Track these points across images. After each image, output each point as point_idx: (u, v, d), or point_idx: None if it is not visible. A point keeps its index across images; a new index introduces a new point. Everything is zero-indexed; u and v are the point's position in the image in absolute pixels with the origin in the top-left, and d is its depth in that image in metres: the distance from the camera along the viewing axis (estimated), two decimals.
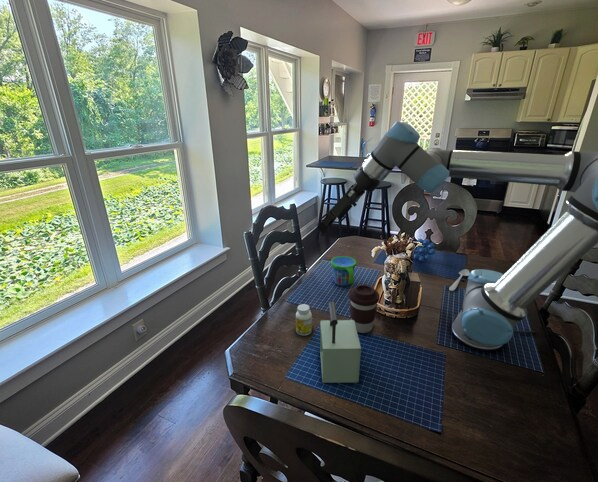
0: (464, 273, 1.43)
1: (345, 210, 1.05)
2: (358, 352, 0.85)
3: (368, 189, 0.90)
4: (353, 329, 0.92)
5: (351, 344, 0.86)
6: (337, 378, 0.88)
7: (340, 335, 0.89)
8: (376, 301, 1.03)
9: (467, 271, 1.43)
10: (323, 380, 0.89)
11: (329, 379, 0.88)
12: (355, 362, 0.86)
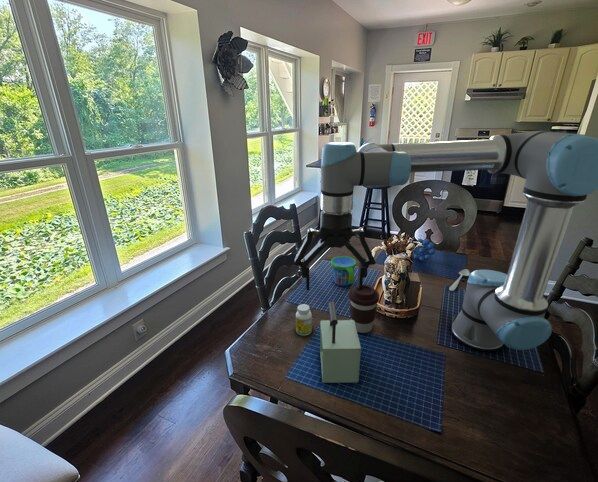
0: (464, 273, 1.43)
1: (359, 275, 0.82)
2: (358, 352, 0.85)
3: (325, 226, 0.75)
4: (353, 329, 0.92)
5: (351, 344, 0.86)
6: (337, 378, 0.88)
7: (340, 335, 0.89)
8: (376, 301, 1.03)
9: (467, 271, 1.43)
10: (323, 380, 0.89)
11: (329, 379, 0.88)
12: (355, 362, 0.86)
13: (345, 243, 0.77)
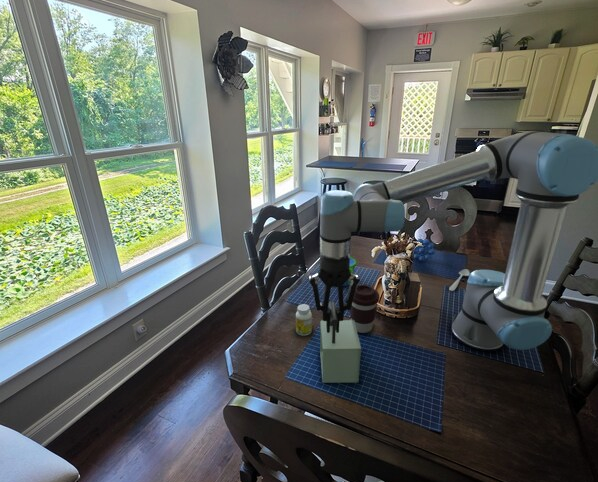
0: (464, 273, 1.43)
1: None
2: (358, 352, 0.85)
3: (324, 269, 0.79)
4: (353, 329, 0.92)
5: (351, 344, 0.86)
6: (337, 378, 0.88)
7: (340, 335, 0.89)
8: (376, 301, 1.03)
9: (467, 271, 1.43)
10: (323, 380, 0.89)
11: (329, 379, 0.88)
12: (355, 362, 0.86)
13: (339, 284, 0.82)
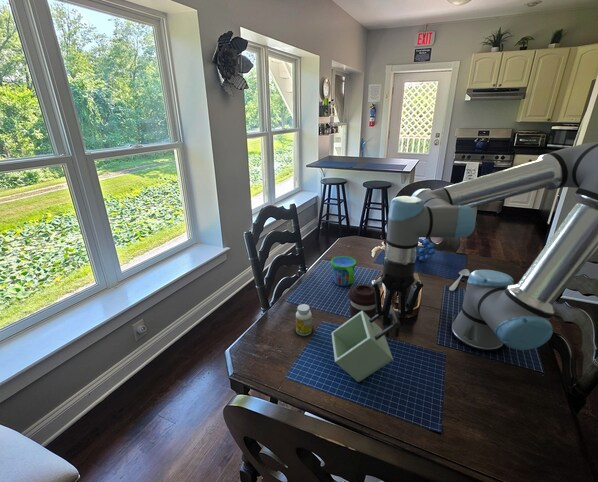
0: (464, 273, 1.43)
1: None
2: (388, 361, 0.86)
3: (390, 274, 0.79)
4: (384, 338, 0.93)
5: (386, 350, 0.86)
6: (349, 367, 0.87)
7: None
8: None
9: (467, 271, 1.43)
10: (337, 360, 0.86)
11: (343, 363, 0.86)
12: (376, 366, 0.87)
13: (403, 289, 0.82)
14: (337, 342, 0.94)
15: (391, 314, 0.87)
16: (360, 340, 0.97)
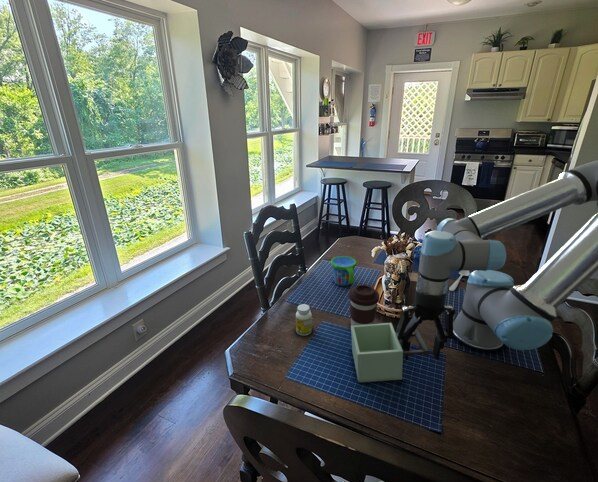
0: (464, 273, 1.43)
1: (436, 346, 0.91)
2: (397, 378, 0.88)
3: (422, 305, 0.83)
4: None
5: None
6: (363, 365, 0.86)
7: None
8: (376, 301, 1.03)
9: (467, 271, 1.43)
10: (360, 354, 0.85)
11: (362, 359, 0.86)
12: (384, 377, 0.88)
13: (436, 318, 0.85)
14: None
15: (422, 341, 0.90)
16: (368, 346, 0.98)
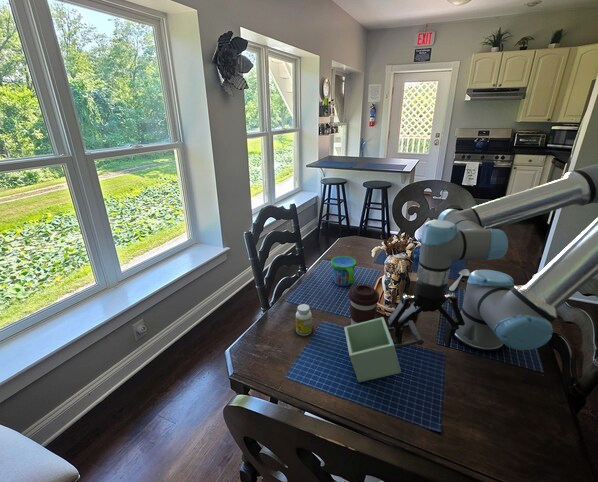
0: (464, 273, 1.43)
1: (448, 334, 0.89)
2: (395, 372, 0.87)
3: (423, 295, 0.82)
4: None
5: None
6: (359, 365, 0.86)
7: None
8: (376, 301, 1.03)
9: (467, 271, 1.43)
10: (352, 355, 0.85)
11: (355, 360, 0.86)
12: (383, 373, 0.87)
13: (439, 308, 0.84)
14: (349, 338, 0.93)
15: (415, 330, 0.89)
16: (366, 344, 0.98)
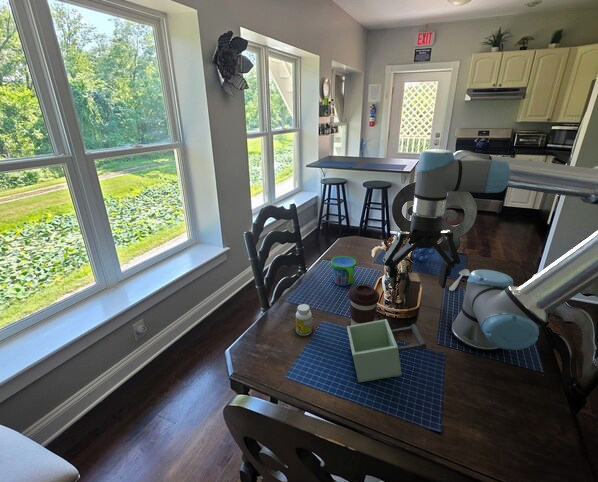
0: (464, 273, 1.43)
1: (443, 274, 0.87)
2: (396, 374, 0.88)
3: (419, 229, 0.79)
4: None
5: None
6: (360, 365, 0.86)
7: None
8: (376, 301, 1.03)
9: (467, 271, 1.43)
10: (355, 354, 0.85)
11: (358, 359, 0.86)
12: (384, 375, 0.88)
13: (435, 244, 0.82)
14: None
15: (418, 334, 0.89)
16: (367, 345, 0.98)
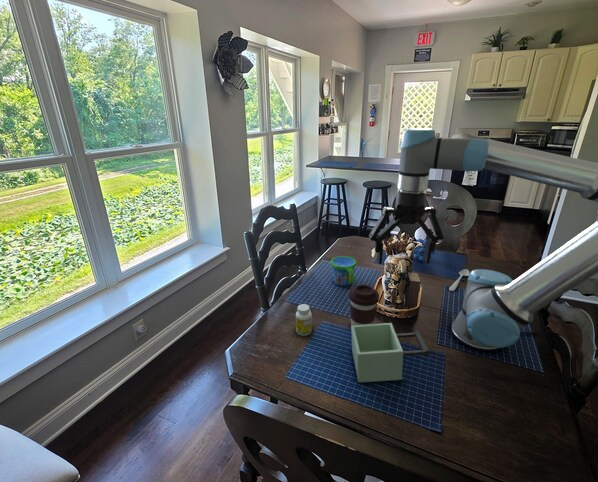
0: (464, 273, 1.43)
1: (427, 249, 0.91)
2: (397, 378, 0.88)
3: (402, 204, 0.84)
4: None
5: None
6: (363, 365, 0.86)
7: None
8: (376, 301, 1.03)
9: (467, 271, 1.43)
10: (360, 354, 0.85)
11: (362, 359, 0.86)
12: (384, 377, 0.88)
13: (418, 220, 0.86)
14: None
15: (422, 341, 0.90)
16: (368, 346, 0.98)
